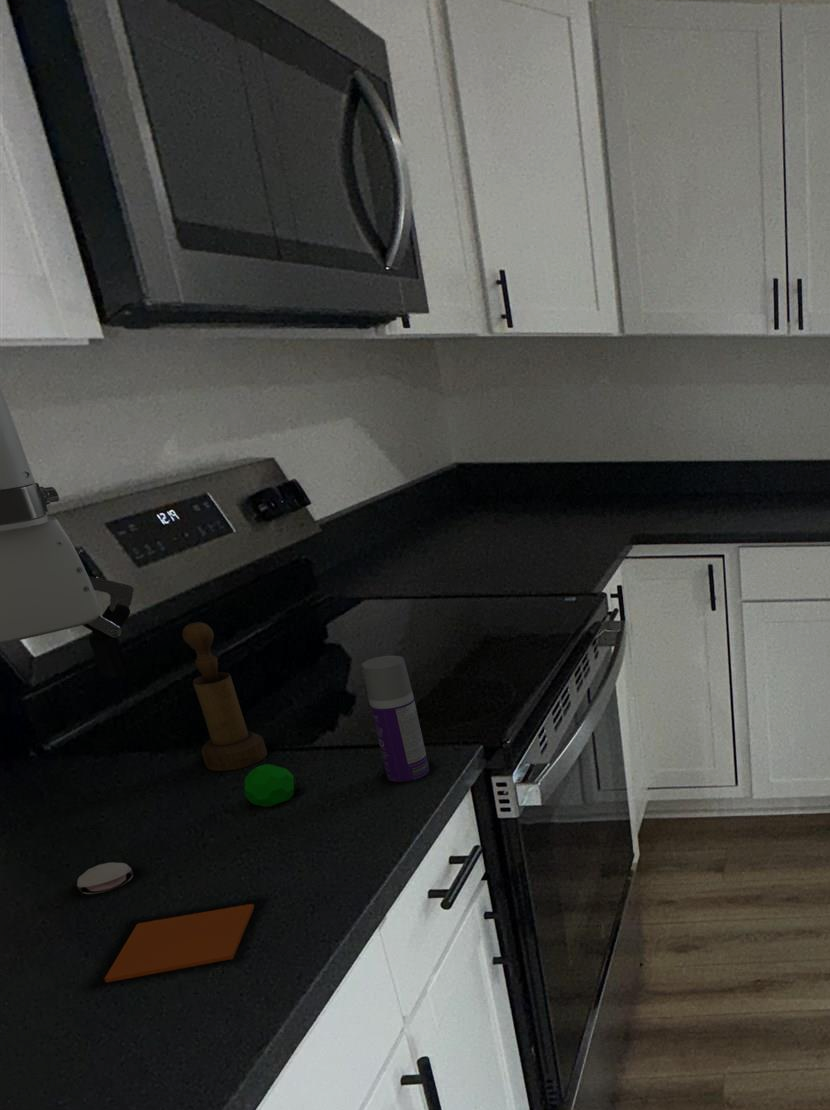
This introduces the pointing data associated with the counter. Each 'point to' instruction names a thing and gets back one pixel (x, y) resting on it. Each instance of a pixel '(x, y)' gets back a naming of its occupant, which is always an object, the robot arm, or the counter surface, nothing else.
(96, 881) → the macaroon
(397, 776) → the container
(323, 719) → the counter surface
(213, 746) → the mortar and pestle
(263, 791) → the polyhedron
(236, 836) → the counter surface
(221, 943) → the orange cloth
